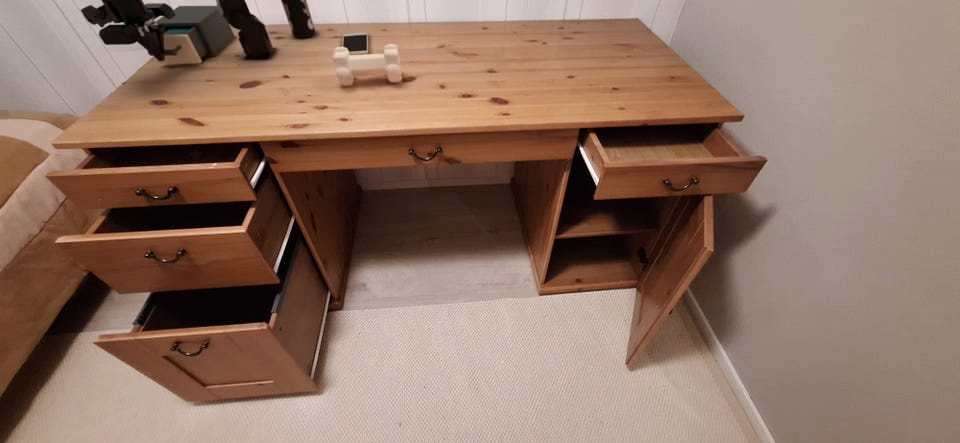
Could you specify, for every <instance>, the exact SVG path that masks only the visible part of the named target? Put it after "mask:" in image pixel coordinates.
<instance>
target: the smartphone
mask: <svg viewBox="0 0 960 443" xmlns="http://www.w3.org/2000/svg"><path fill="white" fill-rule="evenodd" d="M341 42H342V43H341V47H345V48H347V49H348V51H349V54H350V55H366V54H370V52H369V33H368V32H367V31H365V32H351V33H350V32H349V33H343V34H342V41H341Z"/></svg>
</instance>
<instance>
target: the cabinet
mask: <svg viewBox="0 0 960 443" xmlns="http://www.w3.org/2000/svg"><path fill="white" fill-rule="evenodd" d="M173 11H174V13H175V15H176V16H174V17H173V18H171V19H167V18H166V17H164V16H160V18H157V20H154V21H155V22H157V24H158V25H164V26H197V27H198V29H199V31H200V33H201V35H202V37H203V39H204V41H205V43H206V45H207V47H208V49H209V50H210V51H208V52H207V53H206V54H205V55H204V56H203V57H216V56H217V55H218V54H219V53H220V52H222V50H224V49H225V48H226V47H227V46H228V45H229V44H230V43H231V42H232V41H233V40H234V39H235V38H236V36H235V34H234V31H233V29H232V26H231V25H230V24H229V23H228V22H227V21H226V19H225V18H224V17H223V16H222V15H221V14H220V13H219V12H218V11H217V5H179V6H177V7H176V8H174V9H173Z"/></svg>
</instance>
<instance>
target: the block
mask: <svg viewBox="0 0 960 443" xmlns="http://www.w3.org/2000/svg"><path fill="white" fill-rule="evenodd" d="M190 29H191V28H171V29H170V30H168V31H167V32H165V33H164V35H183V34H185V33H186V32H187V31H189V30H190Z"/></svg>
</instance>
